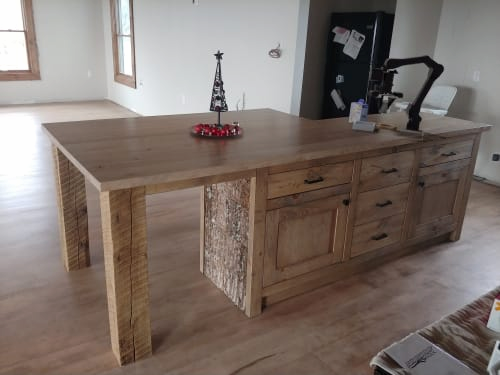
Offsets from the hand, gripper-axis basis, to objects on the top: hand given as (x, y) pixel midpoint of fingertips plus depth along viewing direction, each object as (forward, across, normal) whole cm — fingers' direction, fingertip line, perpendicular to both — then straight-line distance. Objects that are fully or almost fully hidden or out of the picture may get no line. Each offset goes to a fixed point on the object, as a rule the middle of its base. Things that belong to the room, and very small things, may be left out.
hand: (383, 109), depth 255 cm
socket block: (+11, -3, -1) cm, 12 cm away
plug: (+2, 0, 0) cm, 2 cm away
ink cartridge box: (+12, +8, -16) cm, 21 cm away
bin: (+12, +12, +4) cm, 17 cm away
